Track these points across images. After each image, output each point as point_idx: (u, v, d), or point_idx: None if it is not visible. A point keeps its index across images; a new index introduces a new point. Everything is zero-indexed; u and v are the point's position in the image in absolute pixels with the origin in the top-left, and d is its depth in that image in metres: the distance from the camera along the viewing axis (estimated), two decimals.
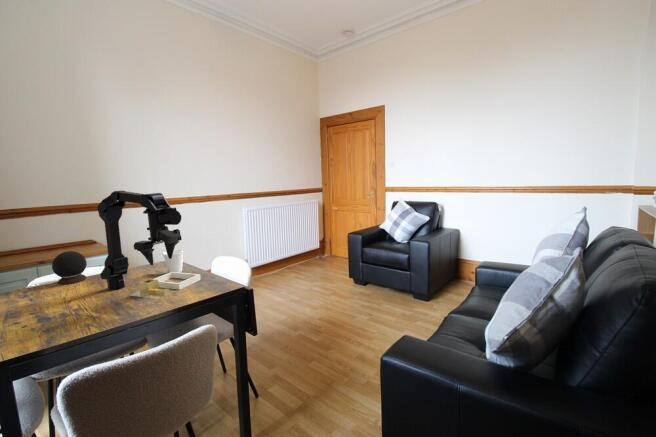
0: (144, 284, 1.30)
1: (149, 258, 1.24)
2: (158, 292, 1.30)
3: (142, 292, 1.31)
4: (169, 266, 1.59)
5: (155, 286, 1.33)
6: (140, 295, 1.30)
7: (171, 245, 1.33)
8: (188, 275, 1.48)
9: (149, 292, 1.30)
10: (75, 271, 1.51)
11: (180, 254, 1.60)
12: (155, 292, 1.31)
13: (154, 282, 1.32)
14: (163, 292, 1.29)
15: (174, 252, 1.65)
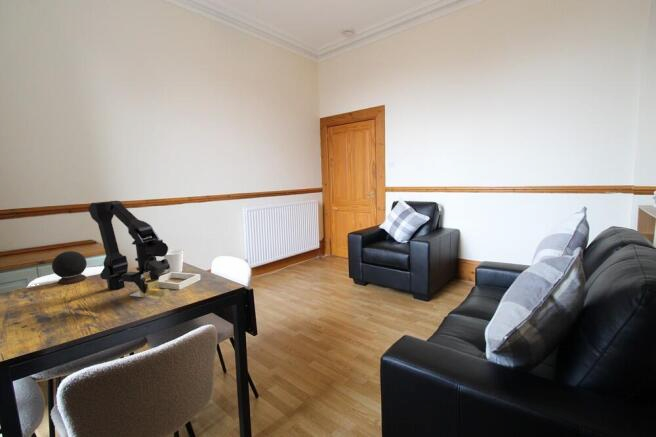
0: None
1: (141, 287, 1.29)
2: (158, 292, 1.30)
3: None
4: None
5: (155, 286, 1.33)
6: (140, 295, 1.30)
7: (156, 275, 1.34)
8: (188, 275, 1.48)
9: (149, 292, 1.30)
10: (75, 271, 1.51)
11: (180, 254, 1.60)
12: (155, 292, 1.31)
13: (154, 282, 1.32)
14: (163, 292, 1.29)
15: (174, 252, 1.65)
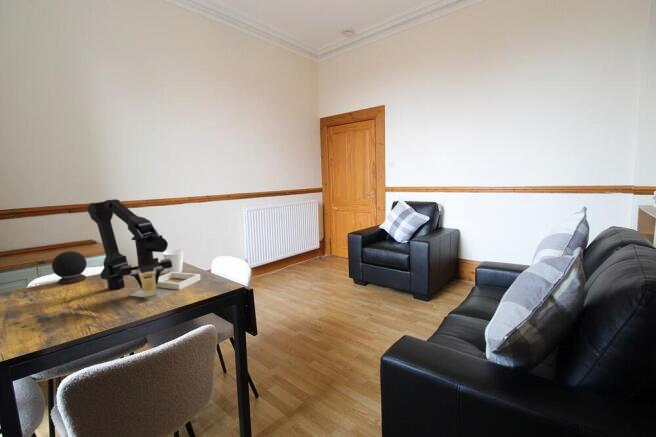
0: (141, 279, 1.30)
1: (137, 281, 1.30)
2: None
3: None
4: None
5: (151, 283, 1.31)
6: (140, 295, 1.30)
7: (155, 272, 1.32)
8: (188, 275, 1.48)
9: (143, 288, 1.29)
10: (75, 271, 1.51)
11: (180, 254, 1.60)
12: (147, 290, 1.29)
13: (150, 279, 1.30)
14: None
15: (174, 252, 1.65)
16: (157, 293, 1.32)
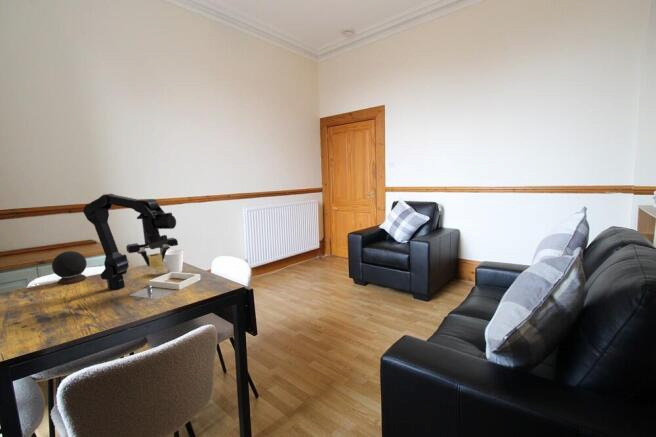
0: (148, 257, 1.33)
1: (144, 259, 1.33)
2: (156, 267, 1.31)
3: None
4: (169, 266, 1.59)
5: (158, 261, 1.34)
6: (140, 295, 1.30)
7: (162, 250, 1.36)
8: (188, 275, 1.48)
9: (150, 266, 1.33)
10: (75, 271, 1.51)
11: (180, 254, 1.60)
12: (155, 266, 1.32)
13: (157, 257, 1.34)
14: (157, 268, 1.29)
15: (174, 252, 1.65)
16: (157, 293, 1.32)
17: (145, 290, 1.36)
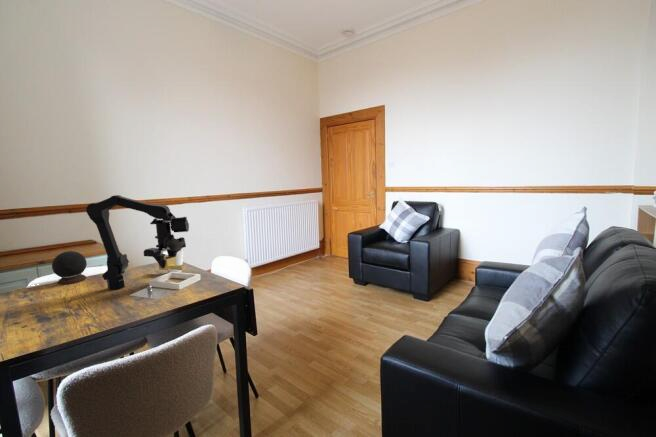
0: None
1: (161, 262, 1.40)
2: (176, 267, 1.41)
3: None
4: None
5: (173, 262, 1.44)
6: (140, 295, 1.30)
7: (173, 252, 1.46)
8: (188, 275, 1.48)
9: (168, 267, 1.41)
10: (75, 271, 1.51)
11: (180, 254, 1.60)
12: (173, 267, 1.42)
13: (172, 258, 1.43)
14: (181, 267, 1.40)
15: None
16: (157, 293, 1.32)
17: (145, 290, 1.36)
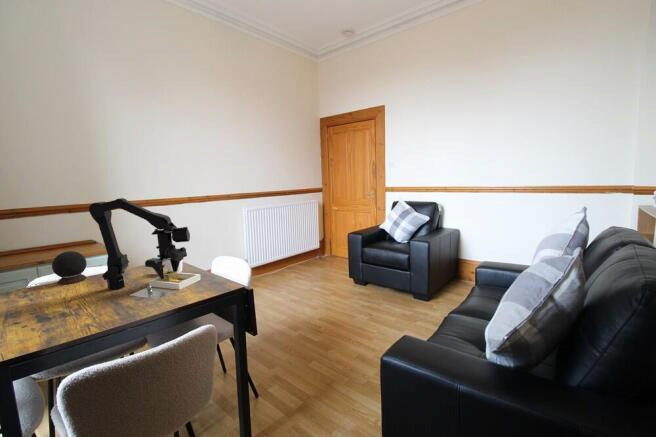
0: (165, 275, 1.42)
1: (160, 273, 1.40)
2: (178, 282, 1.43)
3: None
4: (169, 266, 1.59)
5: (175, 277, 1.45)
6: (140, 295, 1.30)
7: (176, 262, 1.47)
8: (188, 275, 1.48)
9: None
10: (75, 271, 1.51)
11: None
12: (175, 282, 1.43)
13: (174, 273, 1.45)
14: None
15: None
16: (157, 293, 1.32)
17: (145, 290, 1.36)
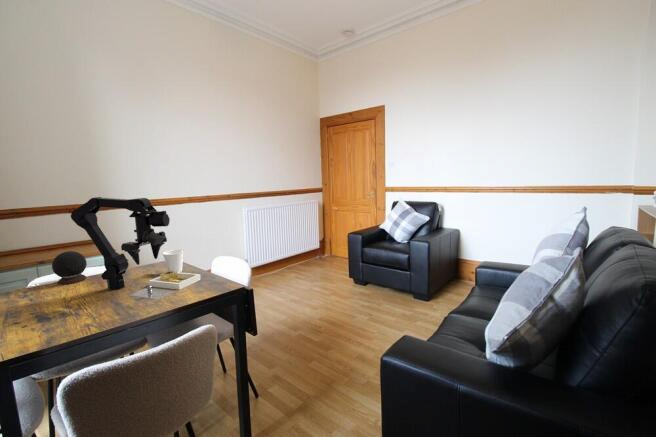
0: (165, 275, 1.42)
1: (135, 258, 1.34)
2: (178, 282, 1.43)
3: None
4: (169, 266, 1.59)
5: (175, 277, 1.45)
6: (140, 295, 1.30)
7: (157, 246, 1.43)
8: (188, 275, 1.48)
9: None
10: (75, 271, 1.51)
11: (180, 254, 1.60)
12: (175, 282, 1.43)
13: (174, 273, 1.45)
14: None
15: (174, 252, 1.65)
16: (157, 293, 1.32)
17: (145, 290, 1.36)
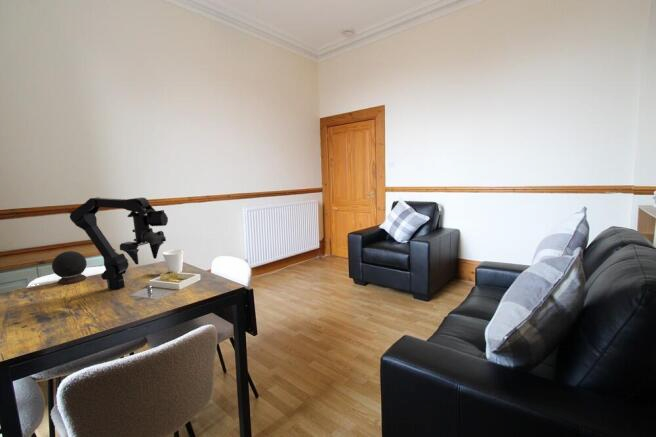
0: (165, 275, 1.42)
1: (134, 258, 1.33)
2: (178, 282, 1.43)
3: None
4: (169, 266, 1.59)
5: (175, 277, 1.45)
6: (140, 295, 1.30)
7: (156, 246, 1.43)
8: (188, 275, 1.48)
9: None
10: (75, 271, 1.51)
11: (180, 254, 1.60)
12: (175, 282, 1.43)
13: (174, 273, 1.45)
14: None
15: (174, 252, 1.65)
16: (157, 293, 1.32)
17: (145, 290, 1.36)
